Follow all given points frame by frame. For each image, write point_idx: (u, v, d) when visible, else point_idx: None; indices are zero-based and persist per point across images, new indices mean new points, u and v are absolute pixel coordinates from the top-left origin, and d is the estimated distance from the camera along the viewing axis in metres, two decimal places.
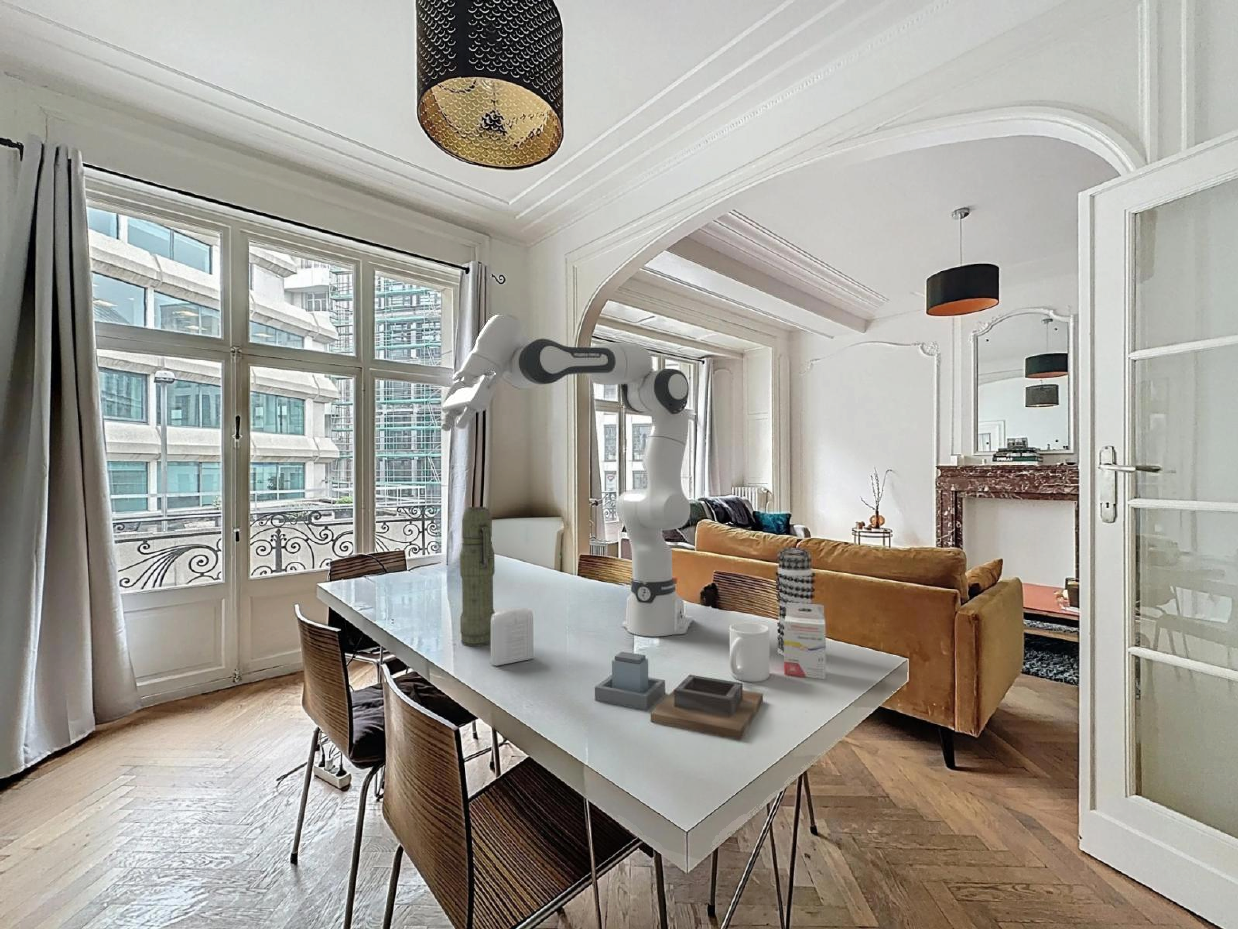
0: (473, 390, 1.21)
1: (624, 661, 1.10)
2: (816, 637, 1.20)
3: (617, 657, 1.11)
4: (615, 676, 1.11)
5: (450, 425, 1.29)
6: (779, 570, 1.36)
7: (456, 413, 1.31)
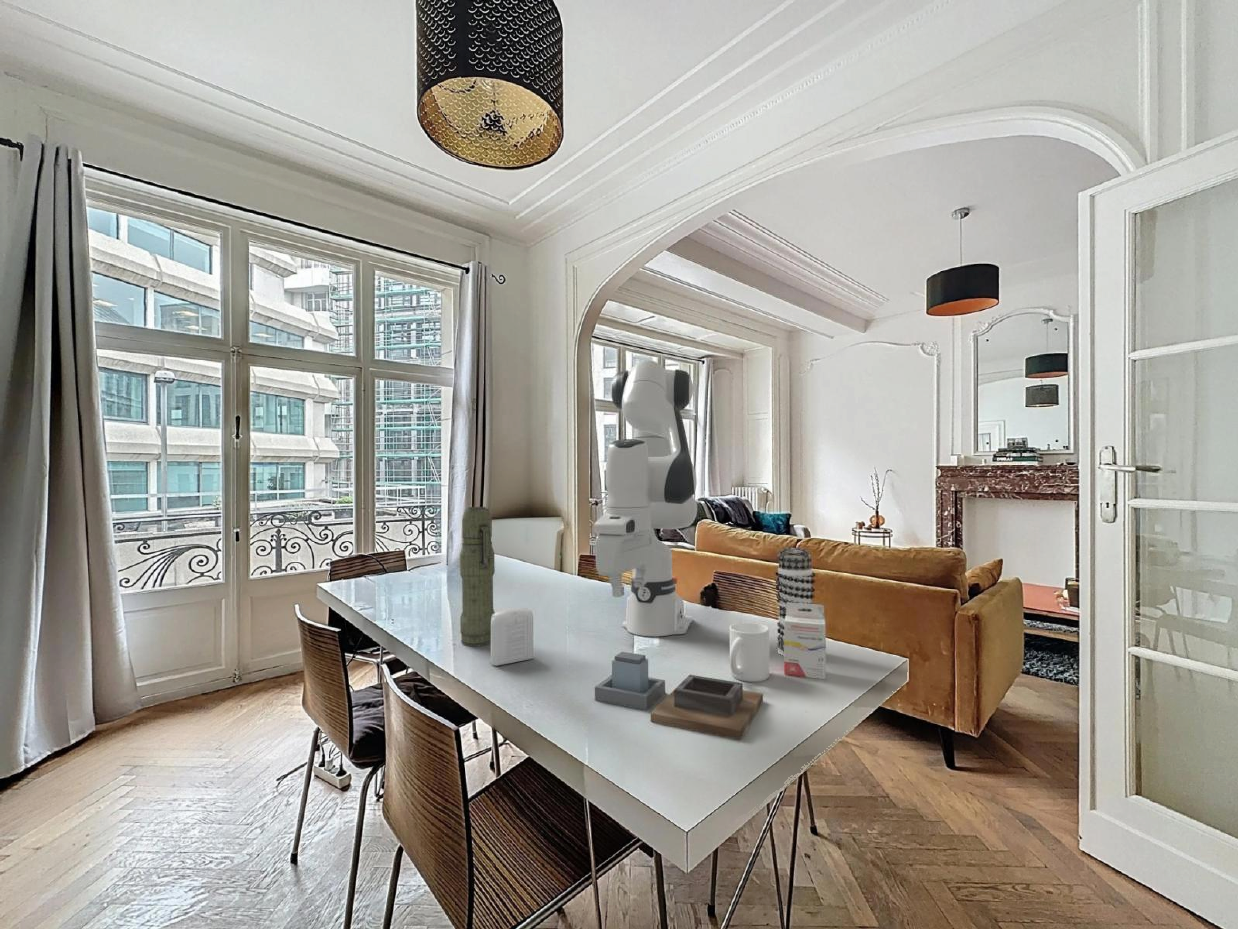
0: (651, 547, 1.17)
1: (624, 661, 1.10)
2: (816, 637, 1.20)
3: (617, 657, 1.11)
4: (615, 676, 1.11)
5: None
6: (779, 570, 1.36)
7: None
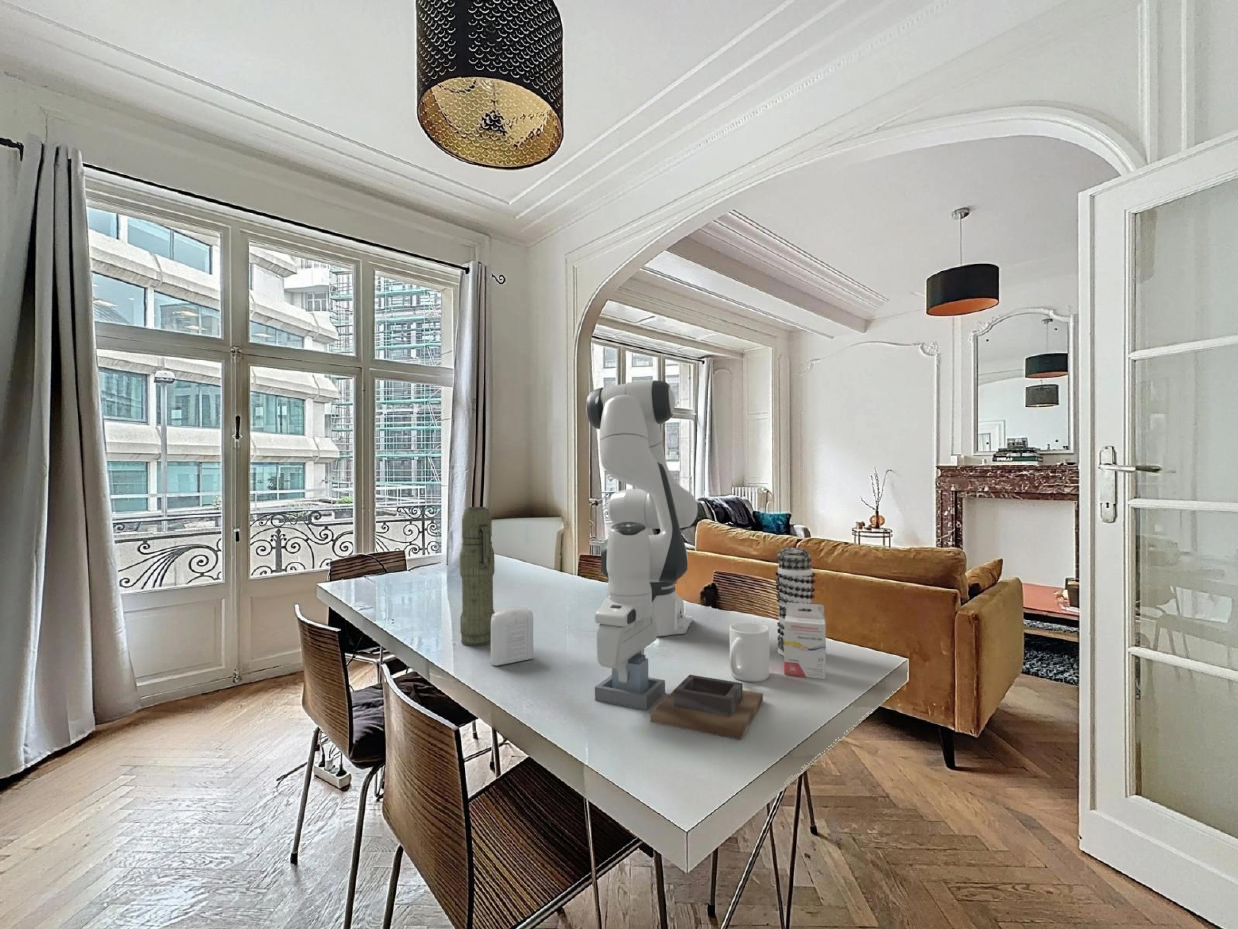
0: (652, 627, 1.17)
1: None
2: (816, 637, 1.20)
3: None
4: (615, 676, 1.11)
5: None
6: (779, 570, 1.36)
7: None
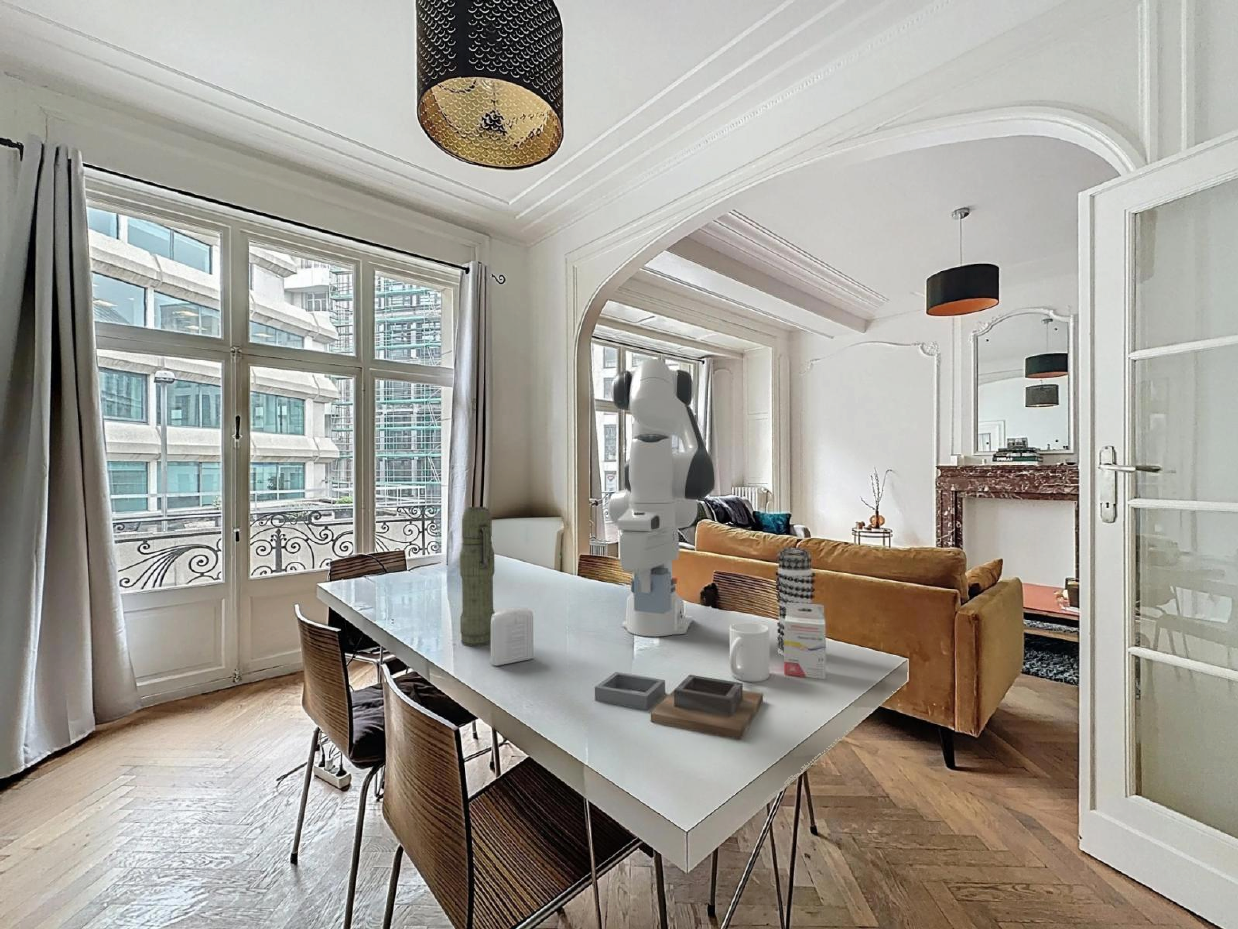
0: (674, 544, 1.15)
1: None
2: (816, 637, 1.20)
3: None
4: (637, 588, 1.08)
5: None
6: (779, 570, 1.36)
7: None
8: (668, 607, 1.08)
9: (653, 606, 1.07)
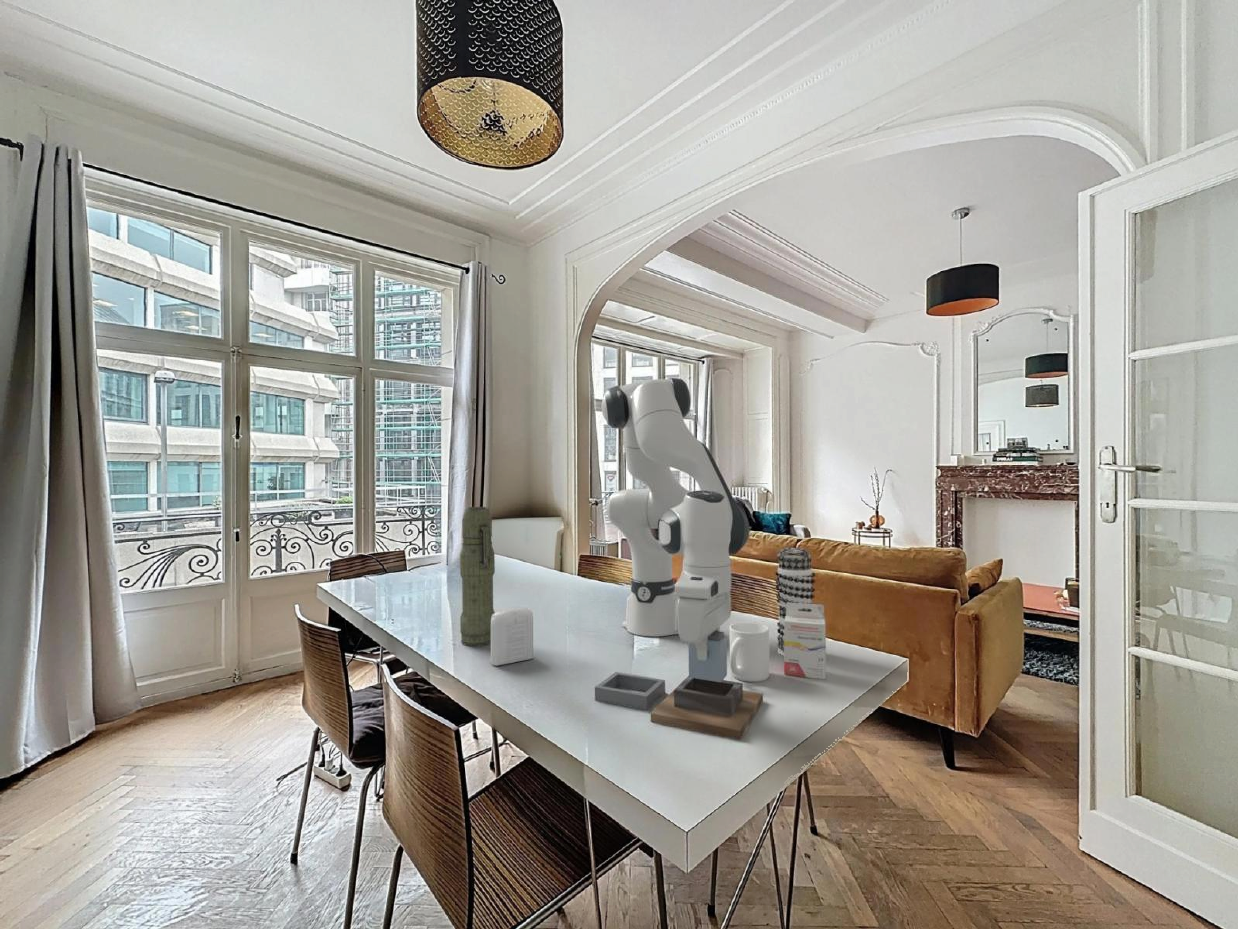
0: (727, 604, 1.10)
1: None
2: (816, 637, 1.20)
3: None
4: (692, 654, 1.03)
5: None
6: (779, 570, 1.36)
7: None
8: (724, 673, 1.03)
9: (709, 673, 1.02)
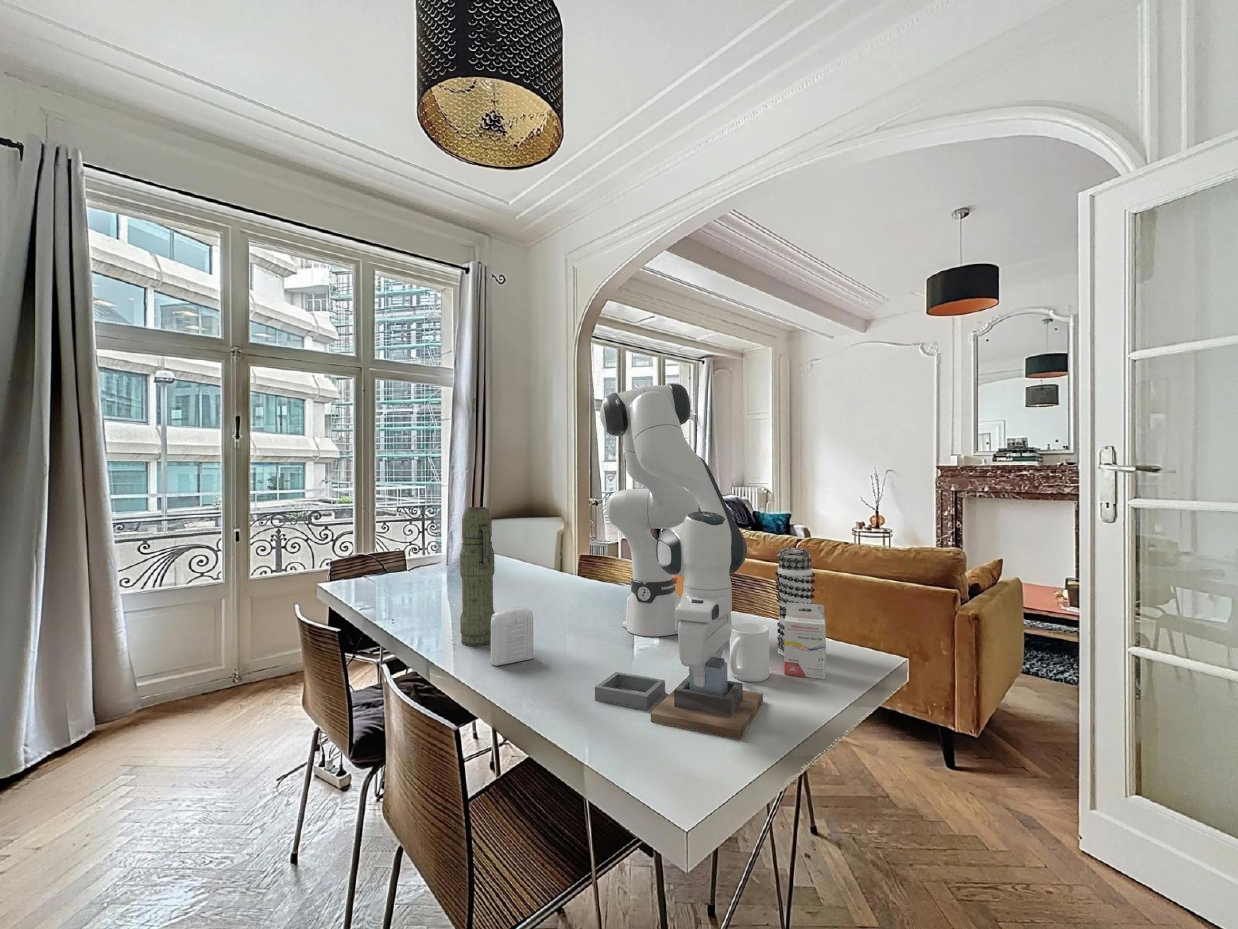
0: (728, 624, 1.10)
1: None
2: (816, 637, 1.20)
3: None
4: (693, 681, 1.04)
5: None
6: (779, 570, 1.36)
7: None
8: None
9: None
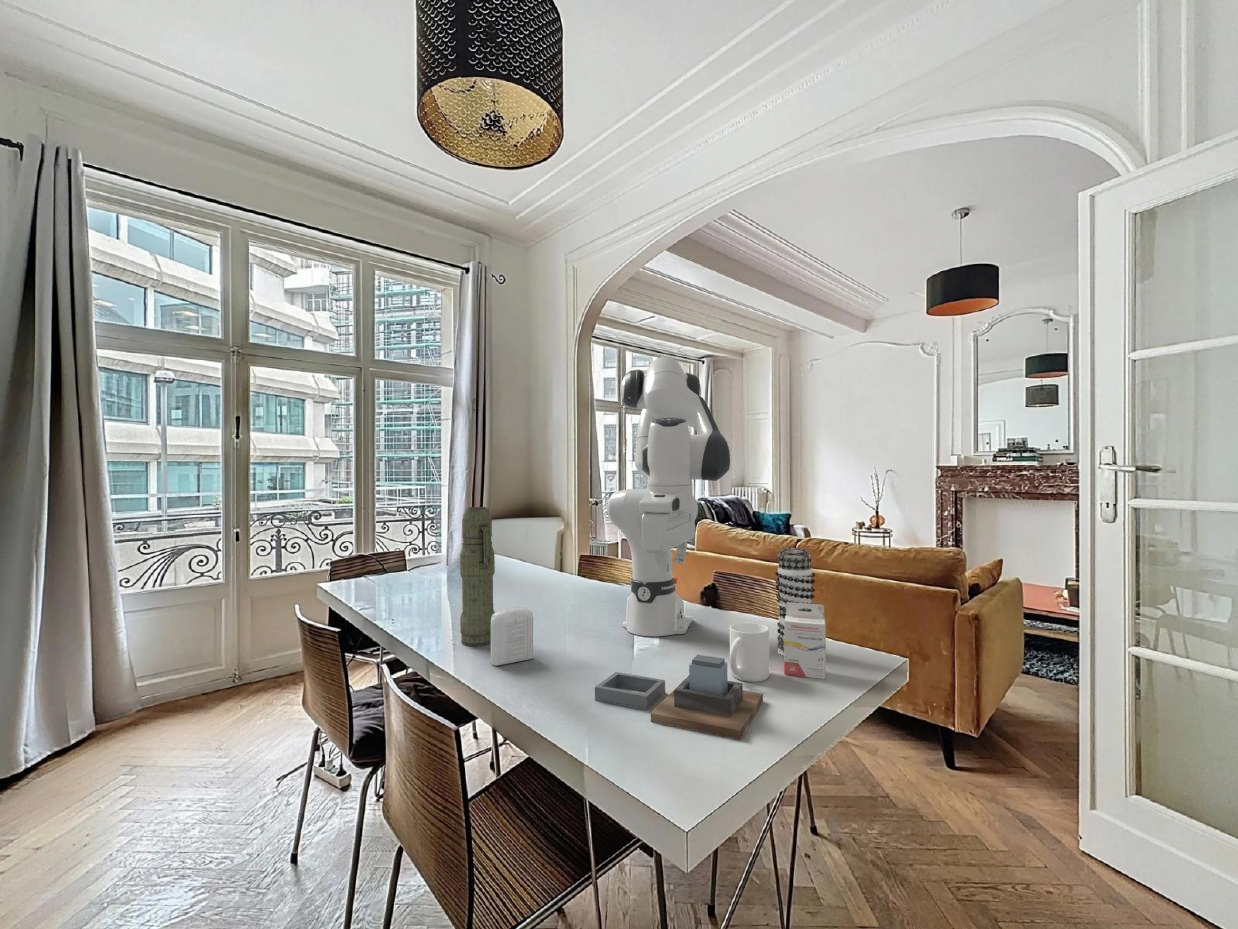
0: (691, 524, 1.19)
1: (703, 665, 1.03)
2: (816, 637, 1.20)
3: (695, 660, 1.04)
4: (693, 681, 1.04)
5: None
6: (779, 570, 1.36)
7: None
8: None
9: None
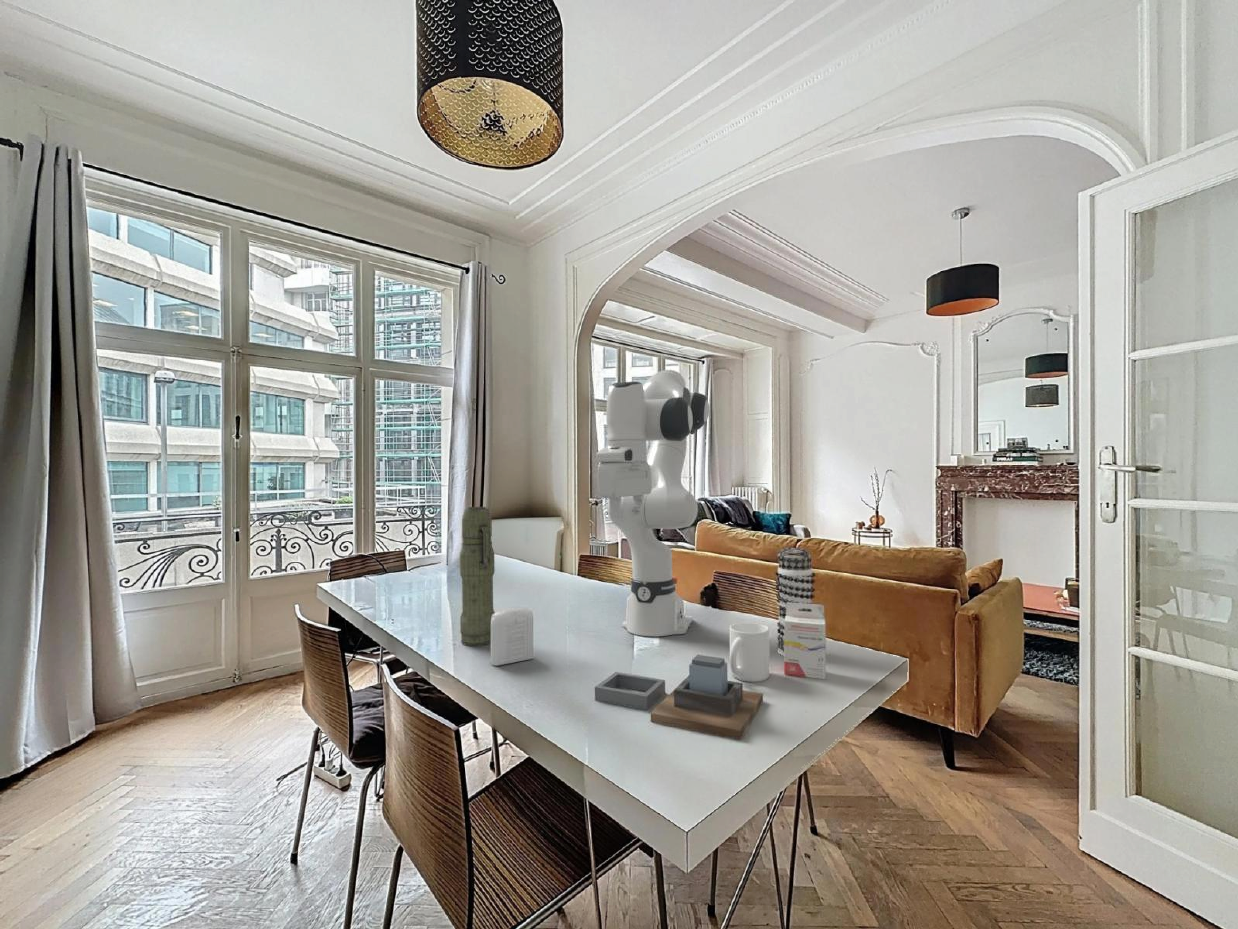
0: (647, 480, 1.31)
1: (703, 665, 1.03)
2: (816, 637, 1.20)
3: (695, 660, 1.04)
4: (693, 681, 1.04)
5: None
6: (779, 570, 1.36)
7: None
8: None
9: None
